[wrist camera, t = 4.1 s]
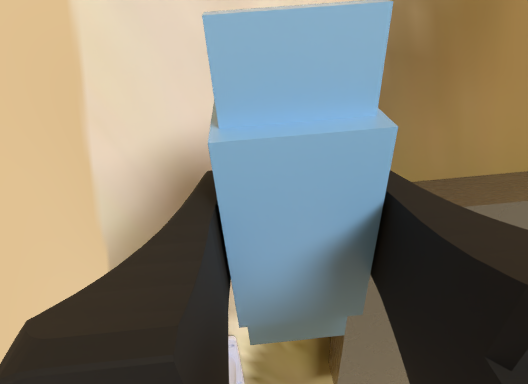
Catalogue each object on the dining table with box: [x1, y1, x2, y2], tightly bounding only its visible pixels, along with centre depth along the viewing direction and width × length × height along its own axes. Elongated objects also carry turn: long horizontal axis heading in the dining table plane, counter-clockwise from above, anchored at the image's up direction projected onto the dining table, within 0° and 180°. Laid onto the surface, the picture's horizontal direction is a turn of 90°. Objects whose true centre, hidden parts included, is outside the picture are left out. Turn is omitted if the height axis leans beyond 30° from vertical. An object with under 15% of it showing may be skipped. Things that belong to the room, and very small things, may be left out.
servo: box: [202, 0, 398, 345], centre depth 10 cm, size 11×4×4 cm, turn 4°
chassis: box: [329, 172, 528, 384], centre depth 27 cm, size 22×18×3 cm
